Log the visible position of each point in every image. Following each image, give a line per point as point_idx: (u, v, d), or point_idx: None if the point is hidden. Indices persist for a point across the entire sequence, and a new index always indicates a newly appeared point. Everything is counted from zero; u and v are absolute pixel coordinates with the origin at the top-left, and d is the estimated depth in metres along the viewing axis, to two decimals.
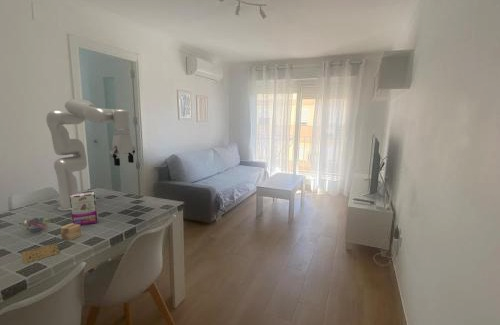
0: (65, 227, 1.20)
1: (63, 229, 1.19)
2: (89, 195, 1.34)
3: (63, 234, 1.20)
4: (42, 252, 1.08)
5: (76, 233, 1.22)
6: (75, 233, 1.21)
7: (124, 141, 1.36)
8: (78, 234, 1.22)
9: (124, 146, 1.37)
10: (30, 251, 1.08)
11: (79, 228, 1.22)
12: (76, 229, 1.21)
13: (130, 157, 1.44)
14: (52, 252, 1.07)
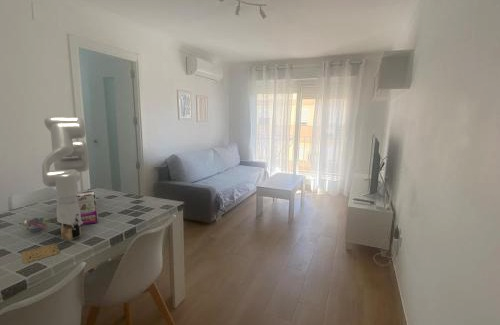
0: (65, 227, 1.20)
1: (63, 229, 1.19)
2: (89, 195, 1.34)
3: (63, 234, 1.20)
4: (42, 251, 1.08)
5: None
6: None
7: None
8: None
9: None
10: (30, 251, 1.08)
11: (79, 228, 1.22)
12: None
13: None
14: (52, 252, 1.07)
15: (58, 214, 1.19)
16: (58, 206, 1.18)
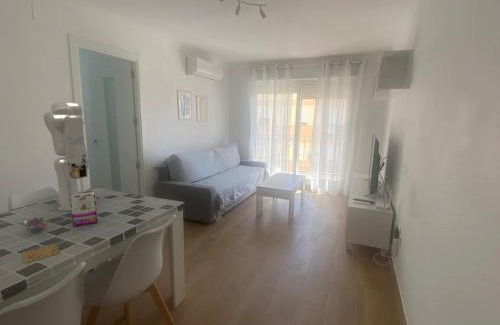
0: (73, 167, 1.28)
1: (70, 169, 1.28)
2: (89, 195, 1.34)
3: (71, 173, 1.28)
4: (42, 251, 1.08)
5: None
6: None
7: None
8: None
9: None
10: (30, 251, 1.08)
11: None
12: None
13: None
14: (52, 252, 1.07)
15: (66, 154, 1.27)
16: (67, 146, 1.26)
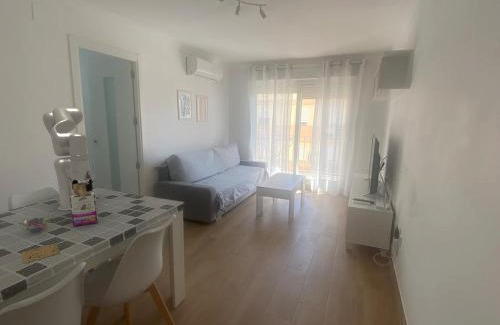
0: (77, 184, 1.32)
1: (75, 186, 1.32)
2: (89, 195, 1.34)
3: (75, 190, 1.32)
4: (42, 251, 1.08)
5: None
6: None
7: None
8: (89, 191, 1.35)
9: None
10: (30, 251, 1.08)
11: None
12: None
13: (76, 183, 1.35)
14: (52, 252, 1.07)
15: (70, 171, 1.31)
16: (71, 164, 1.30)
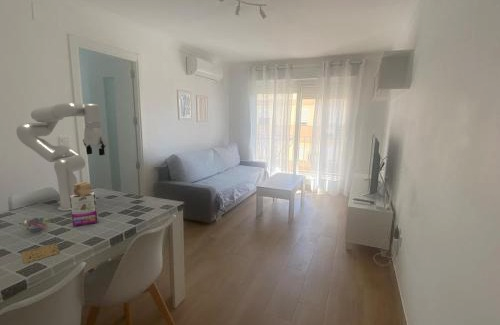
0: (77, 184, 1.32)
1: (75, 186, 1.32)
2: (89, 195, 1.34)
3: (75, 190, 1.32)
4: (42, 251, 1.08)
5: (87, 190, 1.34)
6: (86, 189, 1.33)
7: None
8: (89, 191, 1.35)
9: None
10: (30, 251, 1.08)
11: (89, 186, 1.35)
12: (87, 186, 1.34)
13: (89, 149, 1.53)
14: (52, 252, 1.07)
15: (85, 137, 1.48)
16: (86, 130, 1.47)
